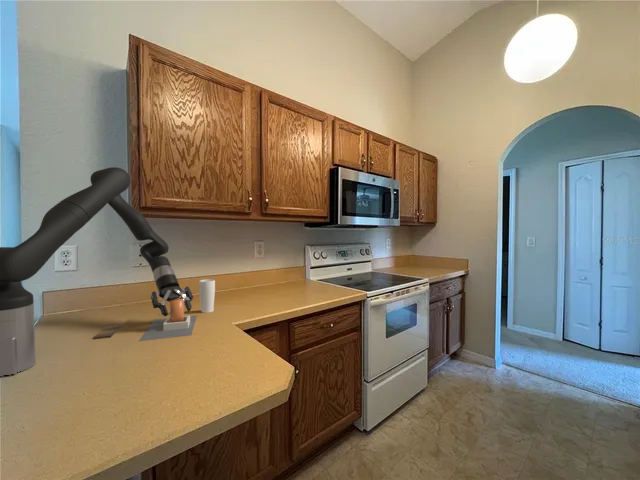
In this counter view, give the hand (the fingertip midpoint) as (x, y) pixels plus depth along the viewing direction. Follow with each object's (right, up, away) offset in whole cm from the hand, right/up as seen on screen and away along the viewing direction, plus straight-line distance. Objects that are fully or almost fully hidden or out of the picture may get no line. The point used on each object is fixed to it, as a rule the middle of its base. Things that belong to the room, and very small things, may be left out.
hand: (178, 312), depth 107 cm
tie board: (-3, -6, 0) cm, 7 cm away
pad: (-20, -6, -1) cm, 21 cm away
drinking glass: (+3, -6, +21) cm, 22 cm away
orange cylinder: (-1, -5, +1) cm, 6 cm away
